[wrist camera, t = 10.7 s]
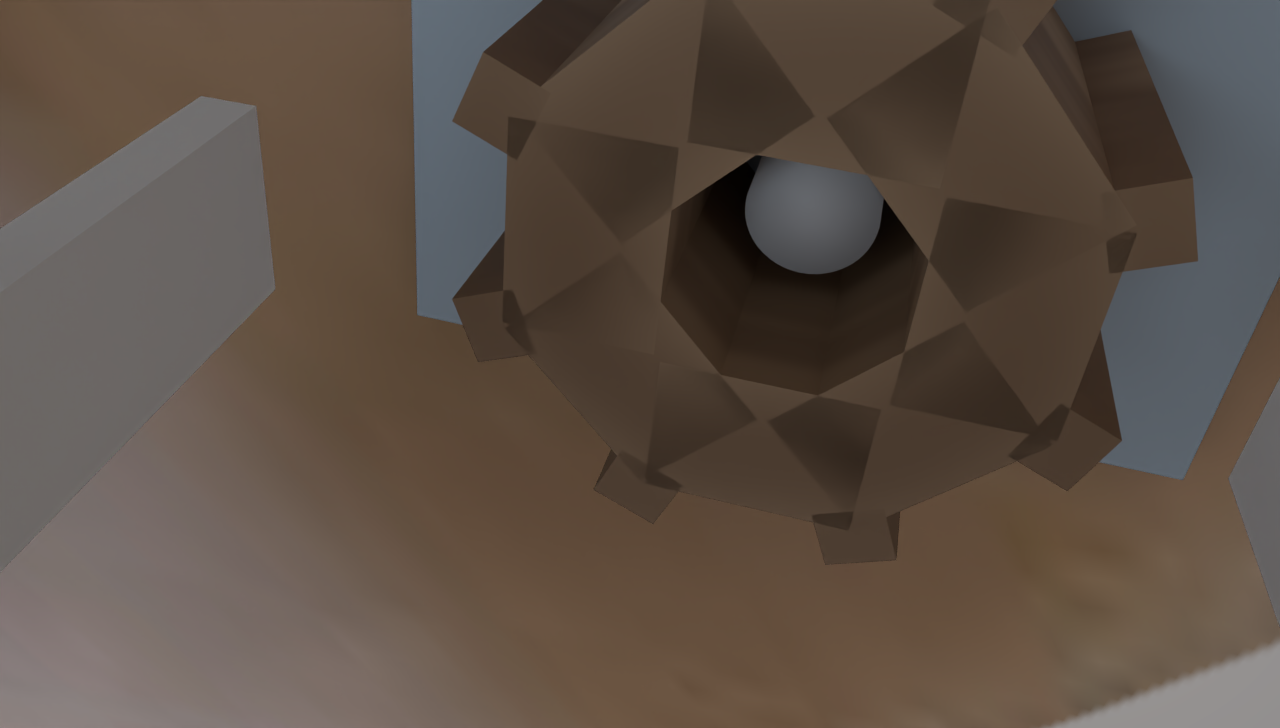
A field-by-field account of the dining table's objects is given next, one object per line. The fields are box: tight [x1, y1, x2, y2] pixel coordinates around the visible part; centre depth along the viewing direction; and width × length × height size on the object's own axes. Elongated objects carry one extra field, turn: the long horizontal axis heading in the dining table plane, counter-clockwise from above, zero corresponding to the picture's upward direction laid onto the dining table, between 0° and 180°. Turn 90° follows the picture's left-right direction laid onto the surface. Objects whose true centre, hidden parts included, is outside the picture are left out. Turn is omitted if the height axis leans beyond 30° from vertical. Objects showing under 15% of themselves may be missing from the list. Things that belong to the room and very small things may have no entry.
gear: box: [452, 0, 1198, 565], centre depth 18 cm, size 10×10×6 cm
